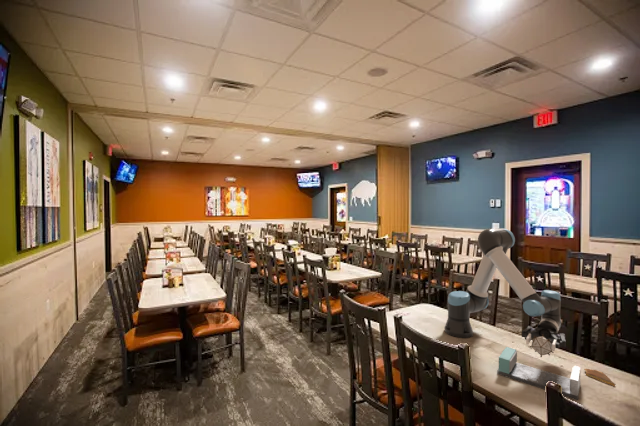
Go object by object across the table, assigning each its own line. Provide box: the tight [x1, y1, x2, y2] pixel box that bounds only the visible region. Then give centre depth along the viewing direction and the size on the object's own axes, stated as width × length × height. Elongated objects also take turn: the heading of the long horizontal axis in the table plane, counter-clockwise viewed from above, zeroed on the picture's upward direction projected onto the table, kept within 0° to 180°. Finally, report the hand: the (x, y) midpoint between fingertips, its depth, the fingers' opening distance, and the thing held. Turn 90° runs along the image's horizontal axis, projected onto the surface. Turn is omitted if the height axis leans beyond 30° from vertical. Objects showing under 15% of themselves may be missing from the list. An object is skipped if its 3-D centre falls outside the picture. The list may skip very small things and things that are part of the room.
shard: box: [583, 368, 616, 387], centre depth 134 cm, size 11×8×2 cm
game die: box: [529, 335, 555, 358], centre depth 132 cm, size 9×8×10 cm
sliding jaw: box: [498, 346, 518, 374], centre depth 141 cm, size 14×4×6 cm, turn 137°
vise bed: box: [496, 362, 581, 401], centre depth 133 cm, size 14×28×8 cm, turn 47°
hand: (540, 344), depth 129 cm, fingers closed on game die, 8 cm apart
